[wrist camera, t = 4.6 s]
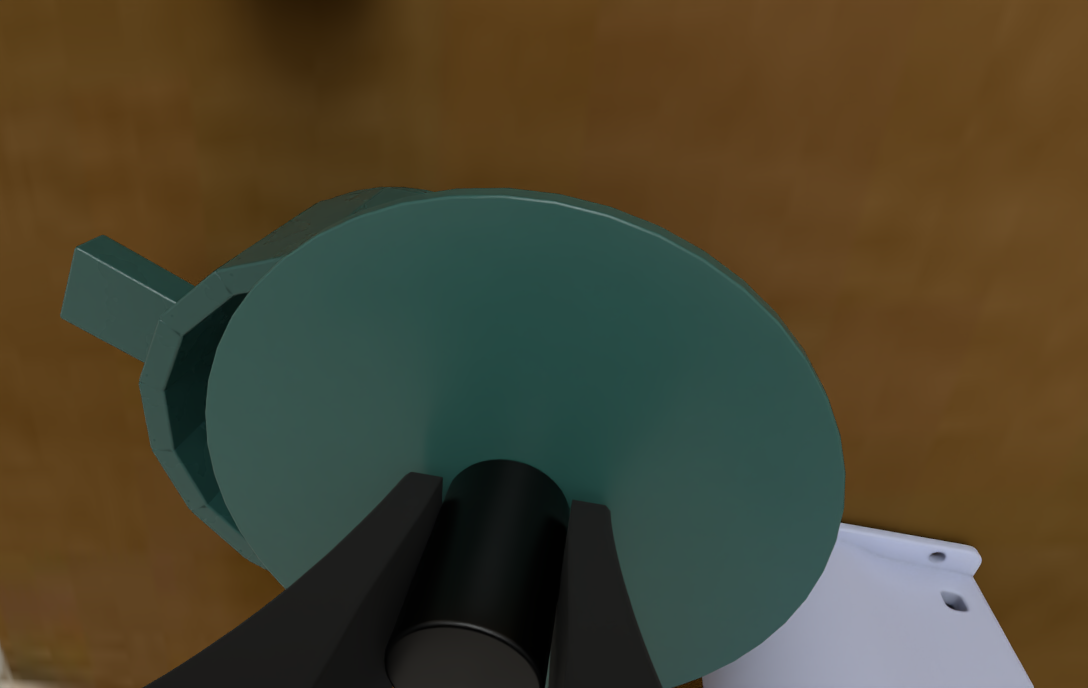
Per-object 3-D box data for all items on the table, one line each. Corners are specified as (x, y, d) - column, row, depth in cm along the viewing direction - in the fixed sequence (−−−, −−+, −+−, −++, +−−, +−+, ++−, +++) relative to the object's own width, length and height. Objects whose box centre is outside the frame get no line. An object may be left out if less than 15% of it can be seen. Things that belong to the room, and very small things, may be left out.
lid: (365, 19, 10) (163, 43, 6) (983, 420, 11) (1168, 657, 7) (173, 509, 15) (6, 694, 11) (602, 724, 17) (589, 949, 13)
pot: (242, 56, 18) (84, 84, 13) (721, 358, 21) (746, 481, 16) (150, 344, 24) (13, 443, 19) (539, 556, 26) (514, 695, 21)
